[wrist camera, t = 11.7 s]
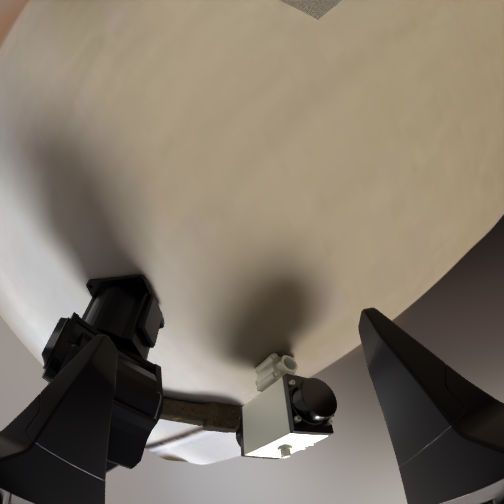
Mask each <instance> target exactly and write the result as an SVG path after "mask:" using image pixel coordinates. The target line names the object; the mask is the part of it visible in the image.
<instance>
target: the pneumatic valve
mask: <svg viewBox="0 0 504 504" xmlns="http://www.w3.org/2000/svg"><path fill="white" fill-rule="evenodd" d="M297 368H298V366H297V363H296V361H295V359H293V358H292V357H290V356H286V355H283V356H282V357H278V355H277V354H276V353H274V354H273V353H272V354H270V355H269V356H268V357H267V358H266V359H265V360H264V361H263V362H262V363H261V364H260V365H258V366H257V367H256V368H255V370H256V371H255V372H256V373H257V381H256V386H257V390H258V391H261V392H262V393H260V394H259V395H258V396H256V397H255V398H254V399H252V400H251V401H250V402H248V403H247V404H246V405H244V406H243V407H242V408H240V426H239V427H238V428H237V431H236V439H237V442H238V444H239V446H240V447H241V456H245V457H254V458H268V459H279V458H288V457H290V456H291V453H293V452H295V451H298V450H300V449H306V448H307V446H309V445H310V446H313V445H314V444H315V442H317V441H319V440H321V439H323V438H325V437H327V436H329V435H331V434H333V428H332V423H333V421H332V420H331V419H330V418H332V417H333V416H334V413H335V411H336V409H337V401H336V397H335V395H334V393H333V391H332V390H331V388H330V387H329V386H328V385H327V384H326V383H324V382H323V381H321V380H319V379H317V378H304V377H300V376H296V375H295V372H296V370H297Z"/></svg>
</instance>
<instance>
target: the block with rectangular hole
mask: <svg viewBox="0 0 504 504" xmlns="http://www.w3.org/2000/svg"><path fill="white" fill-rule="evenodd" d="M280 1H282V2H285V3H287V4H289V5H291V6H293V7H295V8H297V9H299V10H301V11H303V12H305V13H307V14H309V15H311V16H313V17H315V18H316V19H319V18H321V17H322V16H323V15H324V14H326V13H327V12H328V11H329V10H330V9H332V8H333V7H334V6H336V5H337V4H338V3H339V2H341V0H280Z"/></svg>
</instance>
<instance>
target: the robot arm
mask: <svg viewBox="0 0 504 504" xmlns="http://www.w3.org/2000/svg"><path fill="white" fill-rule="evenodd" d="M138 279H139V280H141V281H139V280H138ZM91 285H92V286H91ZM86 286H87V288H88V290H89V292H90V294H91V296H92V299H91V301H90V303H89V305H88V307H87V309H86V311H85V313H84V315H83V317H82V319H81V318H80V317H79V315H78V314H76V313H75V312H74V313H73V315H72V316H71V318H69V317H68V318H60V320H59V322H58V323H57V325H56V327H55V329H54V331H53V333H52V335H51V337H50V338H49V340H48V342H47V344H46V346H45V348H44V350H43V352H42V357H43V360H44V367H43V368H44V369H45V370H44V373H43V376H42V378H43V379H45V380H46V381H48V382H49V383H48V385H47V386H46V387H45V389H44V390H43V391H42V392H41V394H39V395H38V396H37V397H36V398H35V399H34V400H33V402H31V403H30V405H29V406H28V407H27V408H26V409H25V410H24V411H22V412H21V413H20V414H19V415H18V416H17V417H16V418H15V419H14V420H13V421H12V422H11V423H10V424H9V425H8V426H7V427H6V428H5V429H4V430H2V431H0V504H105V477H106V473H107V472H109V471H111V470H112V469H114V468H116V467H117V466H119V465H120V466H123V467H126V468H129V469H132V468H133V467H135V466H136V465H137V464H138V463H139V462H140V461H141V458H142V455H143V451H144V448H145V445H146V442H147V439H148V437H149V435H150V433H151V431H152V429H153V428H154V426H155V425H156V424H157V422H158V420H159V418H160V416H161V413H162V409H163V390H162V377H161V367H160V366H159V365H157V364H153V363H151V362H149V361H148V360H147V357H148V353H149V349H150V348H153V347H154V346H155V343H156V339H157V335H158V331H159V329H160V328H163V327H164V320H163V318H162V312H161V310H160V308H159V305H158V303H157V301H156V298H155V296H154V295H153V294H152V293H151V290H150V288H149V285H148V283H147V281H146V278H145V277H144V276H143V275H130V276H121V277H112V278H103V279H94V280H89V281H88V282H87V284H86ZM359 334H360V338H361V342H362V346H363V350H364V354H365V359H366V363H367V367H368V370H369V374H370V376H371V379H372V382H373V385H374V388H375V391H376V394H377V397H378V400H379V403H380V406H381V409H382V412H383V415H384V418H385V421H386V424H387V428H388V431H389V434H390V438H391V441H392V444H393V448H394V451H395V455H396V459H397V462H398V465H399V470H400V474H401V478H402V482H403V486H404V490H405V494H406V499H407V503H408V504H504V403H502V402H500V401H498V400H496V399H495V398H493V397H492V396H490V395H489V394H487V393H486V392H484V391H483V390H481V389H480V388H478V387H477V386H475V385H474V384H472V383H471V382H469V381H468V380H466V379H465V378H464V377H462V376H461V375H460V374H458V373H457V372H456V371H455V370H453V369H452V368H451V367H450V366H448V365H447V364H446V365H445V363H444V362H443V361H442V360H441V359H440V358H438V357H437V356H436V355H435V354H433V353H432V352H431V351H429V350H428V349H427V348H426V347H424V346H423V345H422V344H421V343H419V342H418V341H417V340H416V339H414V338H413V337H412V336H410V335H409V334H408V333H407V332H405V331H404V330H403V329H401V328H400V327H399V326H398V325H396V324H395V323H394V322H392V321H391V320H390V319H389V318H387V317H386V316H385V315H383V314H382V313H381V312H379V311H378V310H377V309H375V308H367V309H363V310H362V312H361V317H360V322H359Z"/></svg>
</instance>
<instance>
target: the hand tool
mask: <svg viewBox="0 0 504 504" xmlns="http://www.w3.org/2000/svg"><path fill="white" fill-rule="evenodd" d="M240 408H242V407H238V406H233V405H227V404H221V403H216V402H208V403H207V404H197V403H189V402H183V401H175V400H170V399H165V398H163V409H162V413H161V416H160V418H159V419H164V420H169V421H176V422H182V423H188V424H193V425H198V426H201V425H202V426H203V427H204V430H207V431H219V432H226V433H228V432H232V433H234V432H236V431H237V428H238V427H239V426H240Z"/></svg>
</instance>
